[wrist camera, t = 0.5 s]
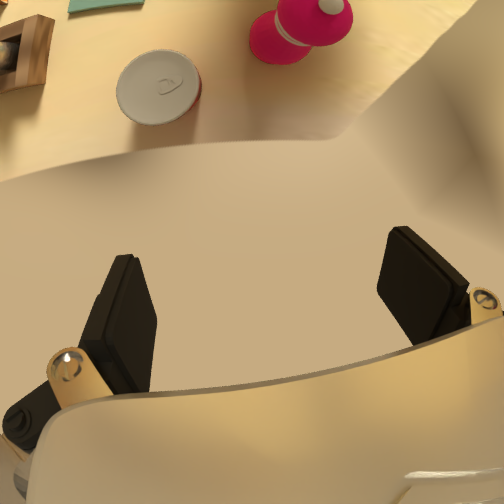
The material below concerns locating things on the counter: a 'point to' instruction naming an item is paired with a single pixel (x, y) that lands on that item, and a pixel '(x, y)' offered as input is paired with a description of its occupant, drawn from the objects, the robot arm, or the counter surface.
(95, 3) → the mat
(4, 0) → the pancake mix bag
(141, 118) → the canned food
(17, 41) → the socket block
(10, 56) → the steel pin
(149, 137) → the counter surface
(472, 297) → the robot arm
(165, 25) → the counter surface
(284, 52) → the pepper mill
